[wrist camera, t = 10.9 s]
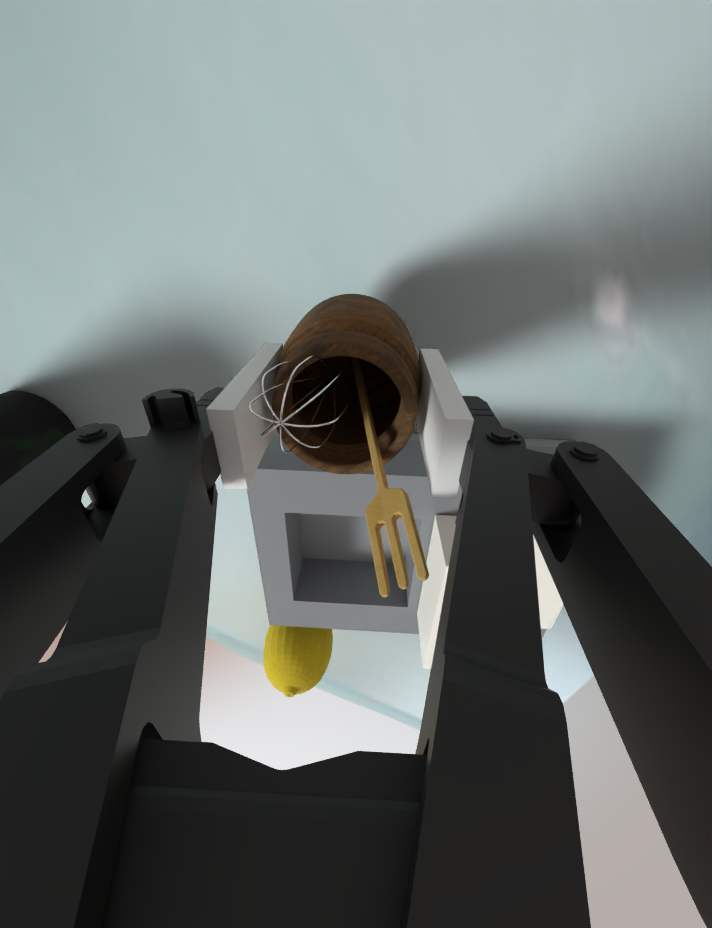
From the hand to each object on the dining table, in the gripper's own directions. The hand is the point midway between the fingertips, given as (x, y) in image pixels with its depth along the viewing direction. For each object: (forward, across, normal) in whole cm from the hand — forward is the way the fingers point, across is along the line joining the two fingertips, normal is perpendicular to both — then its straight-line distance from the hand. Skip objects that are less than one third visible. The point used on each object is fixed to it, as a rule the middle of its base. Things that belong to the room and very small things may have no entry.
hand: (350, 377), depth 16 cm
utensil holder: (+3, 0, 0) cm, 3 cm away
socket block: (+5, +4, -13) cm, 14 cm away
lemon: (+5, -4, -24) cm, 25 cm away
